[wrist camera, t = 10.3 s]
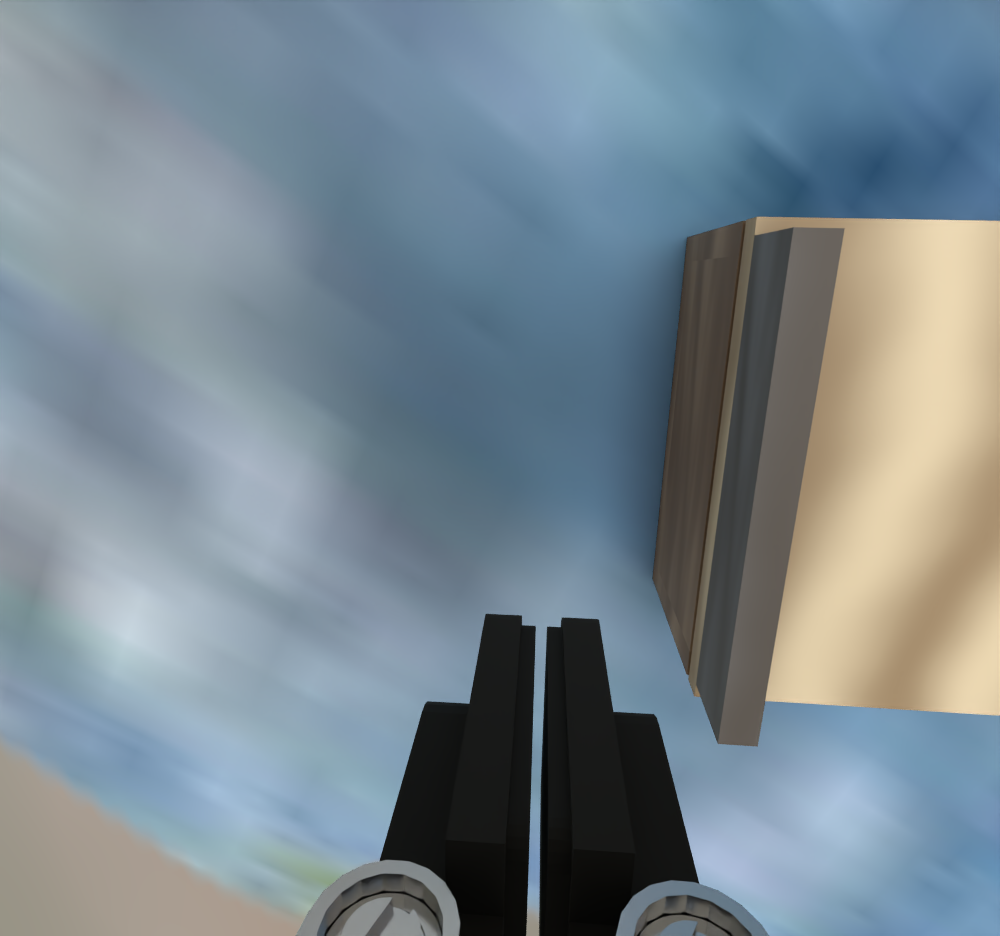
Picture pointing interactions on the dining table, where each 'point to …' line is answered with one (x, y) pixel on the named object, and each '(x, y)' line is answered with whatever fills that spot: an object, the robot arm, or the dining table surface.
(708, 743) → the dining table surface
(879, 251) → the toolbox lid
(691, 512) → the toolbox
